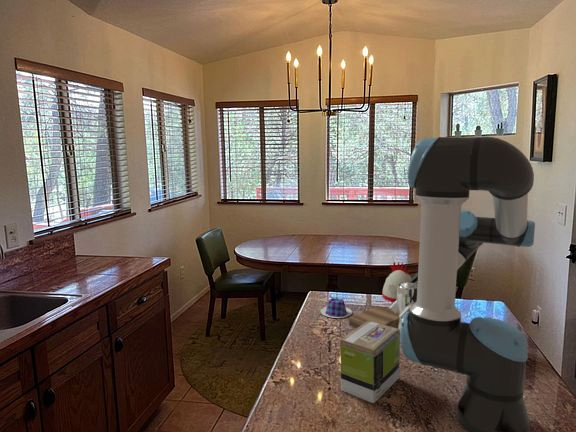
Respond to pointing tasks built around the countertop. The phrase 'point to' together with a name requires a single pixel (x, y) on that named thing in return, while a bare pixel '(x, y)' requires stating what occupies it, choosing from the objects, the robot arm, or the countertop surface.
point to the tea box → (370, 360)
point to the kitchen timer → (395, 282)
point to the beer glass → (405, 297)
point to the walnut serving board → (375, 317)
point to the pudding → (336, 309)
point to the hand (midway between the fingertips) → (397, 314)
